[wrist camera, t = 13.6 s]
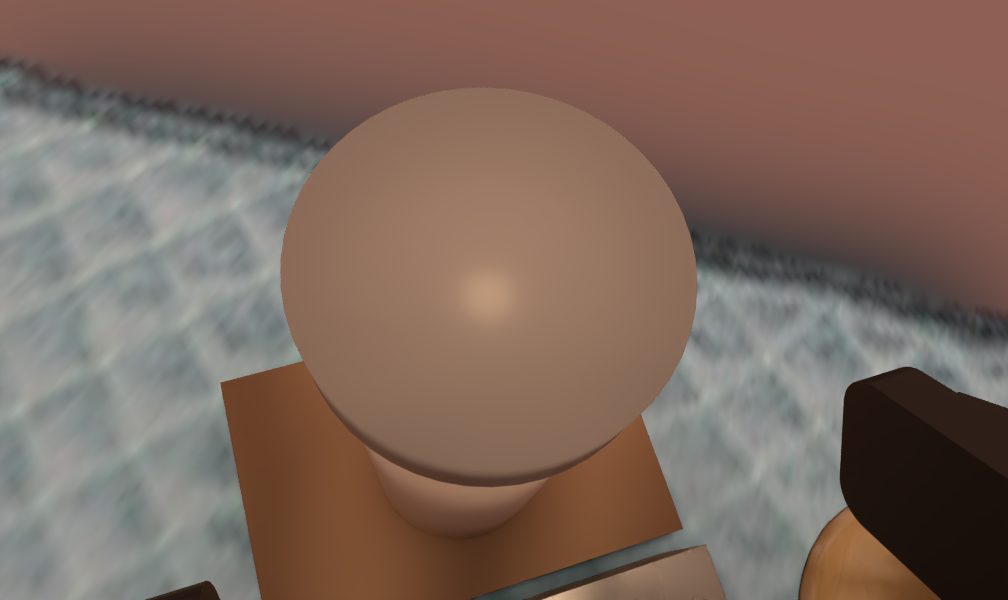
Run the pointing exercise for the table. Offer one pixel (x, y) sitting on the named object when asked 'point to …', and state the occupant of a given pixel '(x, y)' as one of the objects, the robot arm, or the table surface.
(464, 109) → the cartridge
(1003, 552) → the robot arm
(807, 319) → the table surface
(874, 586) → the hand bell
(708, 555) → the housing
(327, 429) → the board
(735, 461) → the table surface
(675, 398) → the table surface
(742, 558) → the table surface
